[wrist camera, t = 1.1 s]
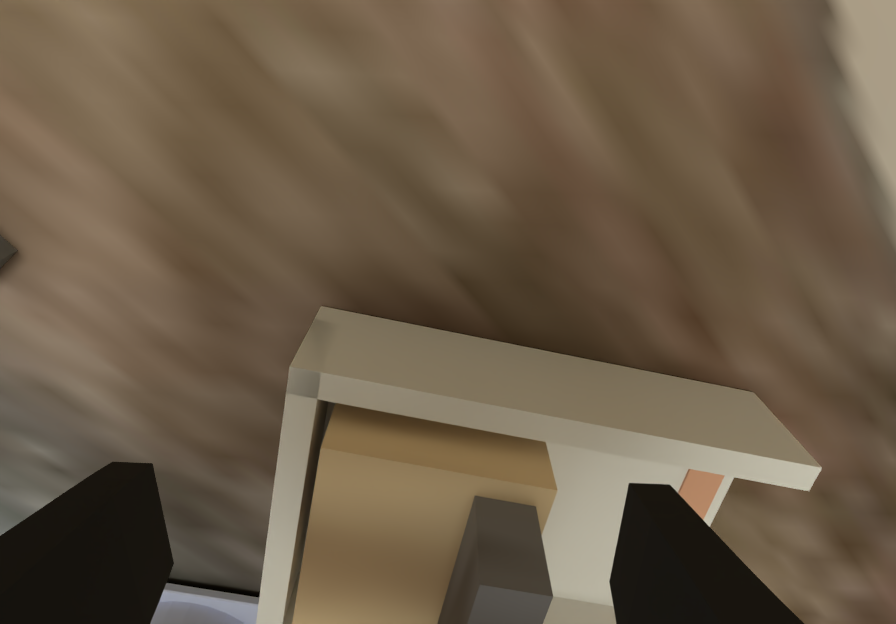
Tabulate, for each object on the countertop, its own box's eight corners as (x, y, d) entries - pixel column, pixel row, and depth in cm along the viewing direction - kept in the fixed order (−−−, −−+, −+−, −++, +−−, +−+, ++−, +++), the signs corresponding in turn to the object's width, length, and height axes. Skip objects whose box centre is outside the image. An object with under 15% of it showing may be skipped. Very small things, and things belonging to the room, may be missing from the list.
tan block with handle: (482, 575, 22) (496, 786, 15) (316, 547, 21) (259, 753, 15) (536, 406, 19) (579, 578, 13) (346, 369, 18) (293, 530, 12)
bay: (650, 608, 24) (687, 709, 20) (285, 547, 23) (253, 642, 19) (753, 392, 20) (822, 467, 16) (321, 305, 19) (289, 366, 15)
